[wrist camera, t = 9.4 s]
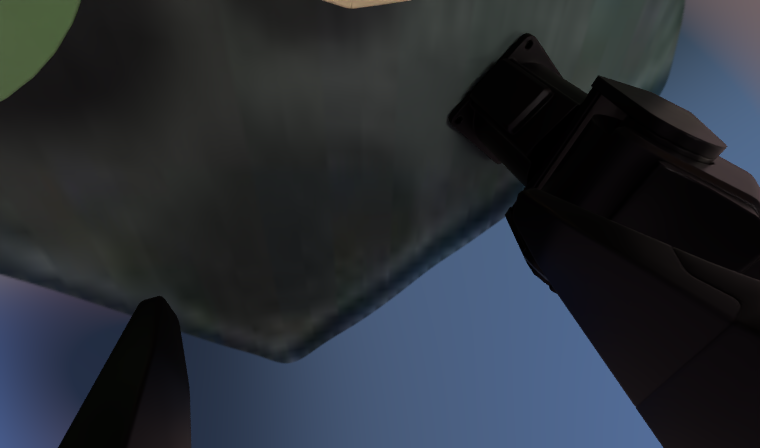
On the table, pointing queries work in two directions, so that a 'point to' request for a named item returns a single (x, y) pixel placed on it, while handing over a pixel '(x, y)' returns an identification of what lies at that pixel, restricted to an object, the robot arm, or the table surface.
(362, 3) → the tin
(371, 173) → the table surface
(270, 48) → the table surface
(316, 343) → the table surface
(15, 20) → the lid
